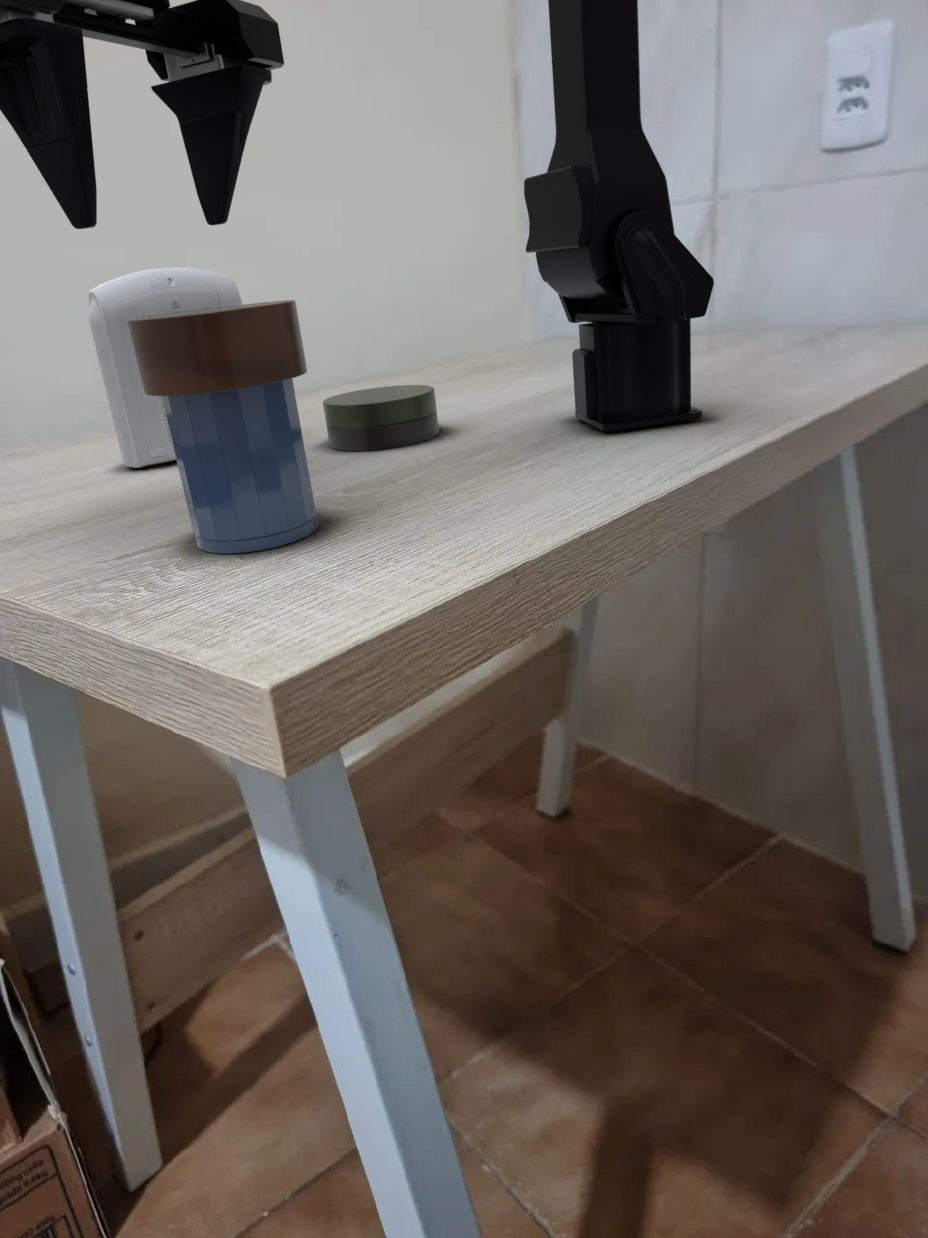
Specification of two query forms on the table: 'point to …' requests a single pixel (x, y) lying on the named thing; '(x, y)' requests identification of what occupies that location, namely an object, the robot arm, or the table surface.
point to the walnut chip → (218, 348)
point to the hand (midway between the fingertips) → (157, 225)
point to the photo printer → (108, 316)
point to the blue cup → (243, 467)
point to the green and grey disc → (381, 417)
